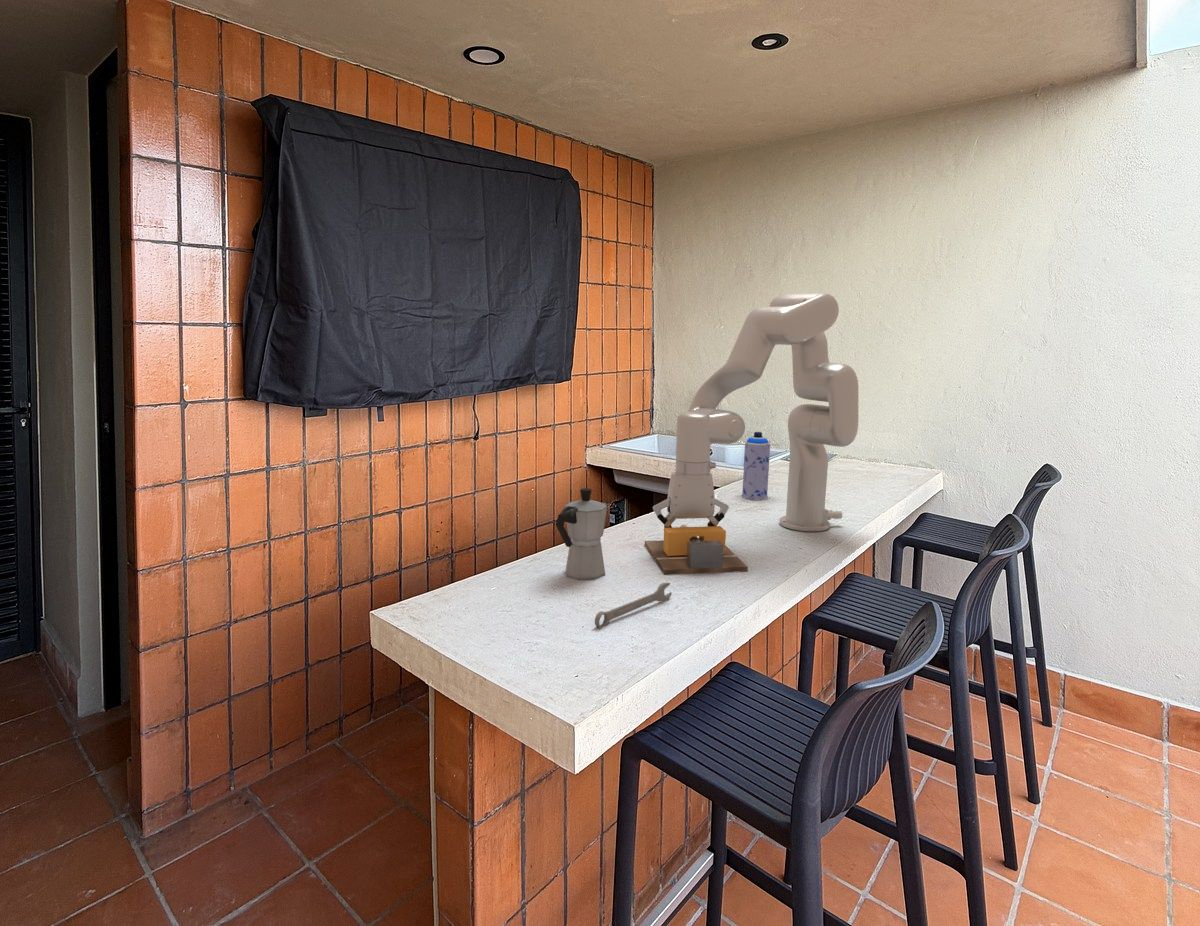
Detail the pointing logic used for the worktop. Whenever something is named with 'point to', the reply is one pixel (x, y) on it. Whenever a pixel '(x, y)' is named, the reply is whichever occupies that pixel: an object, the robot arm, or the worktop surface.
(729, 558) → the pipe board
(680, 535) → the collar
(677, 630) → the worktop surface
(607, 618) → the combination wrench
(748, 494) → the aerosol can
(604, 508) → the coffee maker
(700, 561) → the grey block with rod
